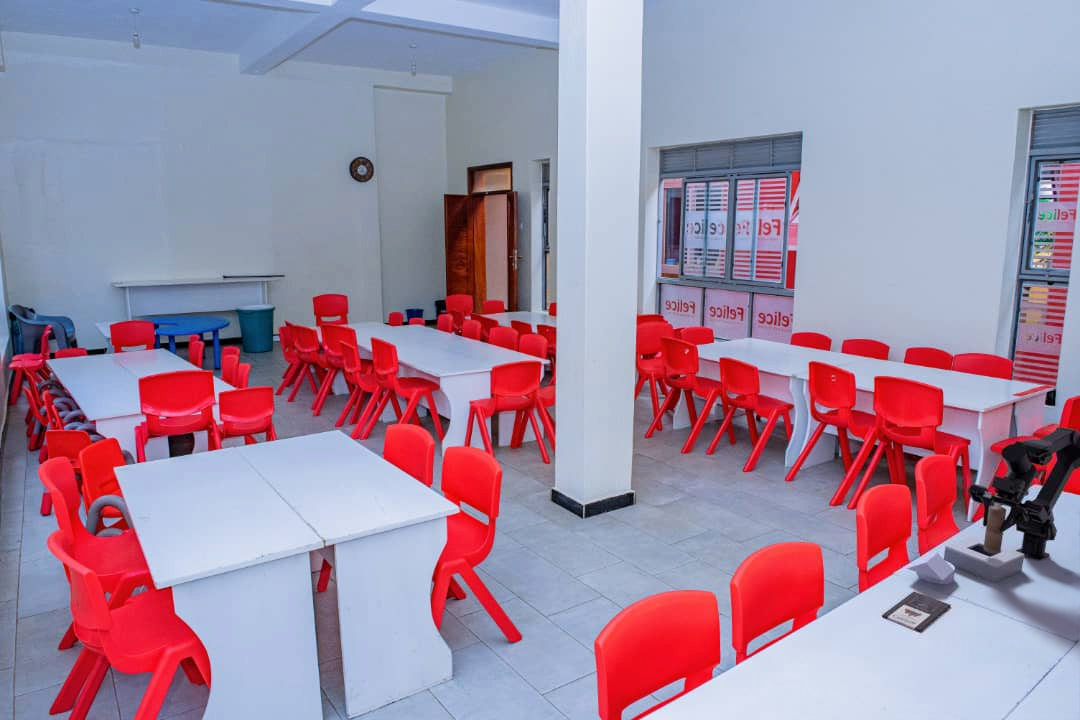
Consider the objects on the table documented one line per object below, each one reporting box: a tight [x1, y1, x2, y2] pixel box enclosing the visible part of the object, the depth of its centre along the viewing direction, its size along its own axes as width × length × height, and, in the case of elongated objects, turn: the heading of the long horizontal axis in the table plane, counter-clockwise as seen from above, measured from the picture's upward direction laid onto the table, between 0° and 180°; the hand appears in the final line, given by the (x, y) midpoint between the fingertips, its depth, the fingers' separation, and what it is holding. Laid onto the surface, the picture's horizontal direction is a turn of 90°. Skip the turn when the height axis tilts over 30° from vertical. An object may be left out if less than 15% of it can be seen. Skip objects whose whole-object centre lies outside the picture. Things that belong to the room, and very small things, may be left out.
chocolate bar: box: [881, 591, 952, 633], centre depth 188 cm, size 9×1×18 cm
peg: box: [983, 505, 1007, 554], centre depth 206 cm, size 4×4×12 cm
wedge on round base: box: [906, 552, 956, 585], centre depth 205 cm, size 9×7×13 cm
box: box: [943, 535, 1025, 584], centre depth 213 cm, size 14×14×5 cm
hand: (992, 528), depth 205 cm, fingers closed on peg, 4 cm apart
